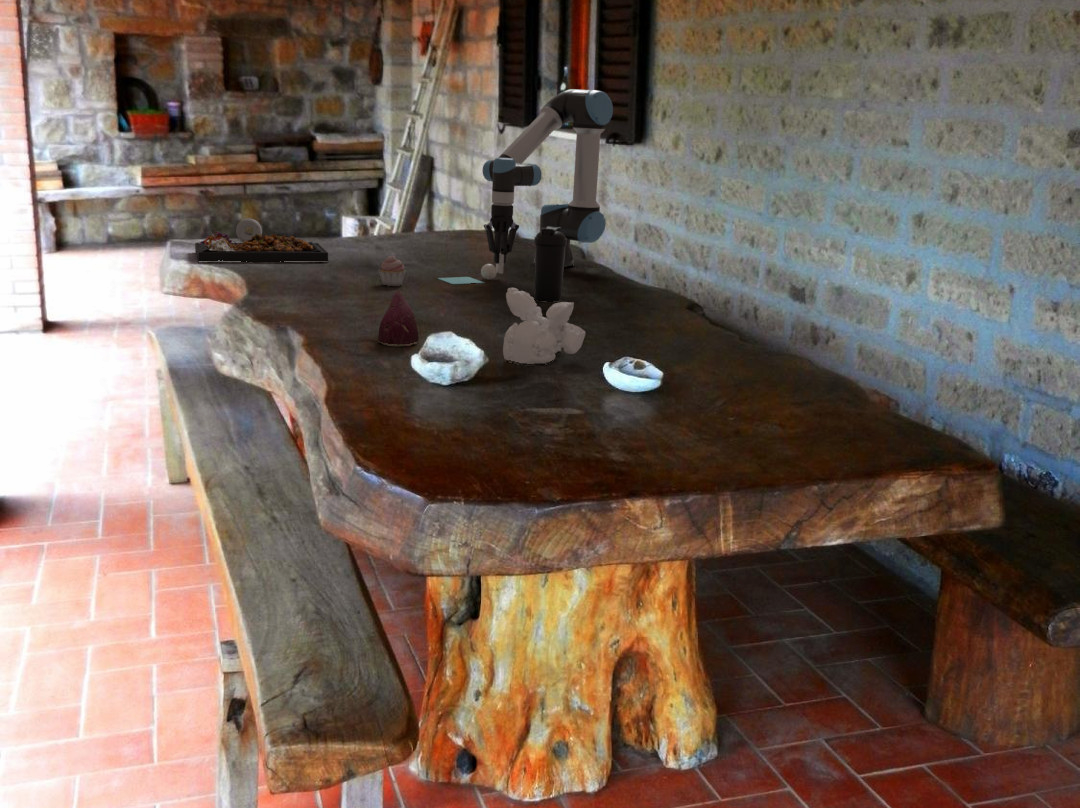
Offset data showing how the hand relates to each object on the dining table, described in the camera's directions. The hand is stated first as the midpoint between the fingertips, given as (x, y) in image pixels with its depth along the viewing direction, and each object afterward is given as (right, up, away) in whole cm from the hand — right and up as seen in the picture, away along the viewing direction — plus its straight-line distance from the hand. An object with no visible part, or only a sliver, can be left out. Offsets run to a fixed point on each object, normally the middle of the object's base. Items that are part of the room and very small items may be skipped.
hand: (499, 272), depth 397 cm
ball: (-4, 0, -2) cm, 4 cm away
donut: (-100, +17, +54) cm, 115 cm away
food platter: (-88, +7, +22) cm, 91 cm away
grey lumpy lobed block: (+15, -34, -112) cm, 118 cm away
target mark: (-13, -4, -7) cm, 15 cm away
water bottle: (+17, -13, -34) cm, 40 cm away
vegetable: (-22, -30, -103) cm, 110 cm away
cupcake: (-34, -7, -21) cm, 41 cm away
